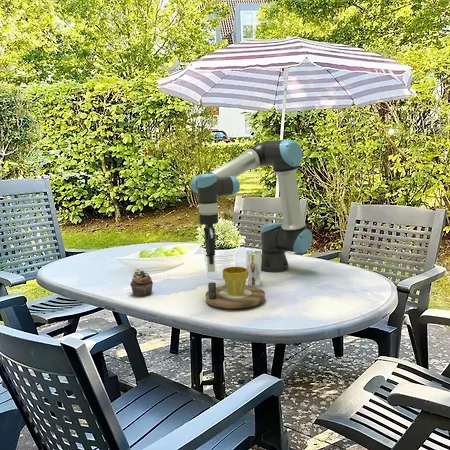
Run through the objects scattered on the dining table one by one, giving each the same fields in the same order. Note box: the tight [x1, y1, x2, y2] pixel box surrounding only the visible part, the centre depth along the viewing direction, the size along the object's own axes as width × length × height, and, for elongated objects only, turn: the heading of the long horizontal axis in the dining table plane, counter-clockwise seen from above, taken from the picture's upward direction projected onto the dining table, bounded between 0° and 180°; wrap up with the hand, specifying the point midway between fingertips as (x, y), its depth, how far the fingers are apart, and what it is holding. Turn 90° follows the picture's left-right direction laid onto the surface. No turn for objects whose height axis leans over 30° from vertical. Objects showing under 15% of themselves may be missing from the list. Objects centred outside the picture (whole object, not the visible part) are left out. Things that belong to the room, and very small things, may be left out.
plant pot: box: [222, 266, 248, 295], centre depth 192 cm, size 10×10×10 cm
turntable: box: [205, 282, 266, 309], centre depth 192 cm, size 24×24×8 cm
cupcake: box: [130, 270, 154, 298], centre depth 205 cm, size 10×10×10 cm
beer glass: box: [245, 249, 262, 287], centre depth 214 cm, size 7×7×15 cm
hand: (211, 271), depth 192 cm, fingers closed
